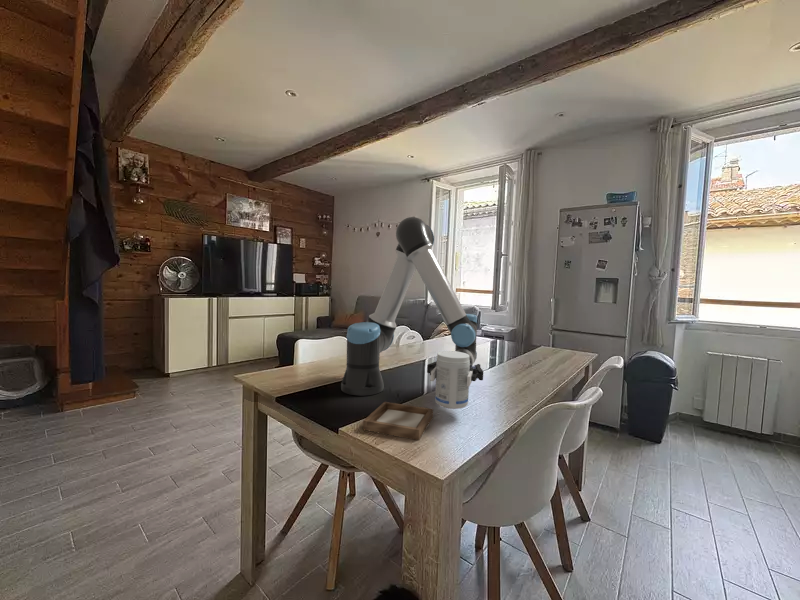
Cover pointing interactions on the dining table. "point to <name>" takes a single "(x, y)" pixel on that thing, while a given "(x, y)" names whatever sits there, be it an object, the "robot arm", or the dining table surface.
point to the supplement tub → (452, 379)
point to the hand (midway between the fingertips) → (449, 378)
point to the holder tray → (399, 420)
